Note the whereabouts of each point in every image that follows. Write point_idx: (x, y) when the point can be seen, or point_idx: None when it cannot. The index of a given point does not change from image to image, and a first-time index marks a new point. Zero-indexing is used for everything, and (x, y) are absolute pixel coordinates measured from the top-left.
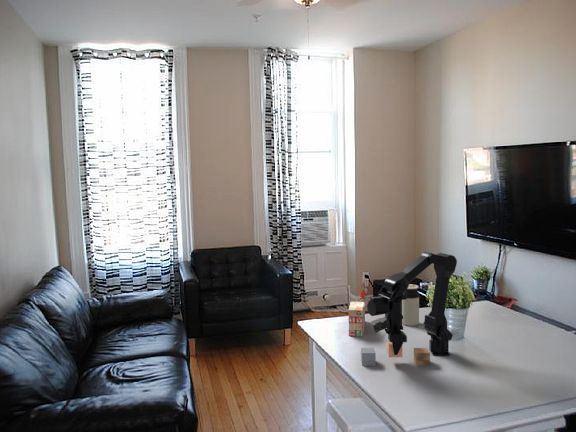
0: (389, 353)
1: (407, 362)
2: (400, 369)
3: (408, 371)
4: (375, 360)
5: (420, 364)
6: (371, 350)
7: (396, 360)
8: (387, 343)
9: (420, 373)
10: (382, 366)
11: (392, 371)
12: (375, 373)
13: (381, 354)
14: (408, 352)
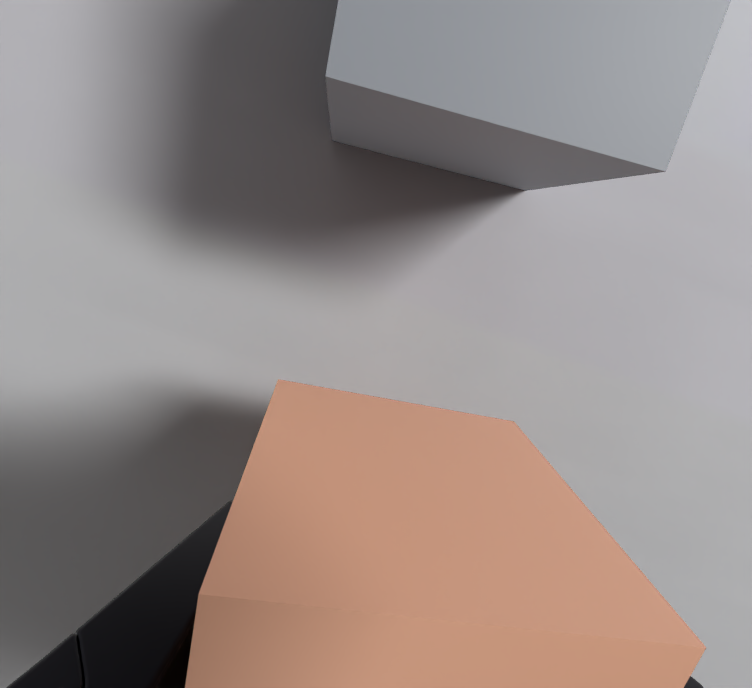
0: (262, 425)
1: None
2: (154, 437)
3: (85, 506)
4: (330, 120)
5: None
6: (536, 27)
7: None
8: (532, 556)
9: (22, 606)
10: (285, 236)
11: (95, 318)
12: (24, 16)
13: (664, 360)
14: None
